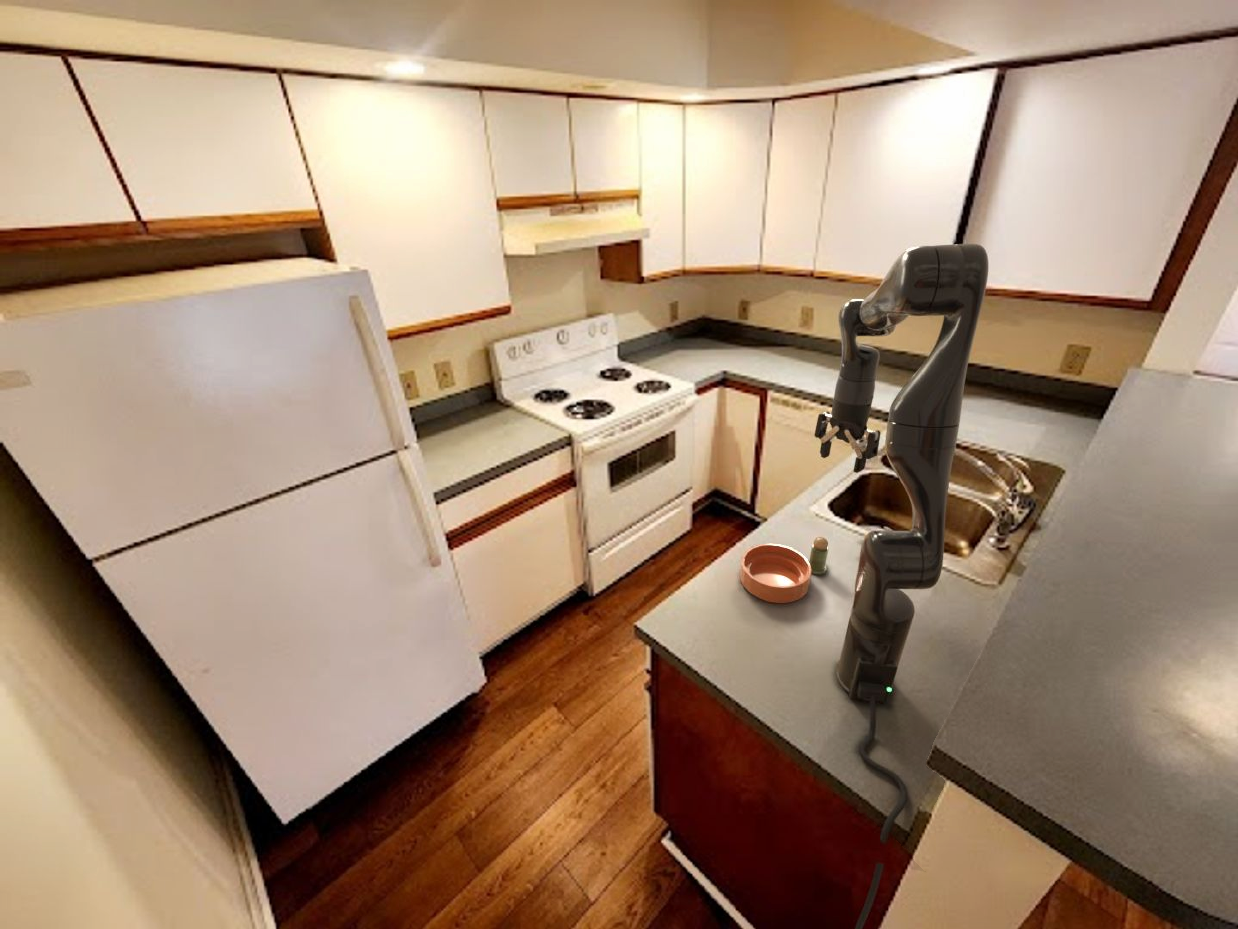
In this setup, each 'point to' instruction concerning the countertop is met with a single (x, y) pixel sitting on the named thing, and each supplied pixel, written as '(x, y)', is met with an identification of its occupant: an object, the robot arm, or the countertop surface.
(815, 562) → the peg doll
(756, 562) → the bowl
